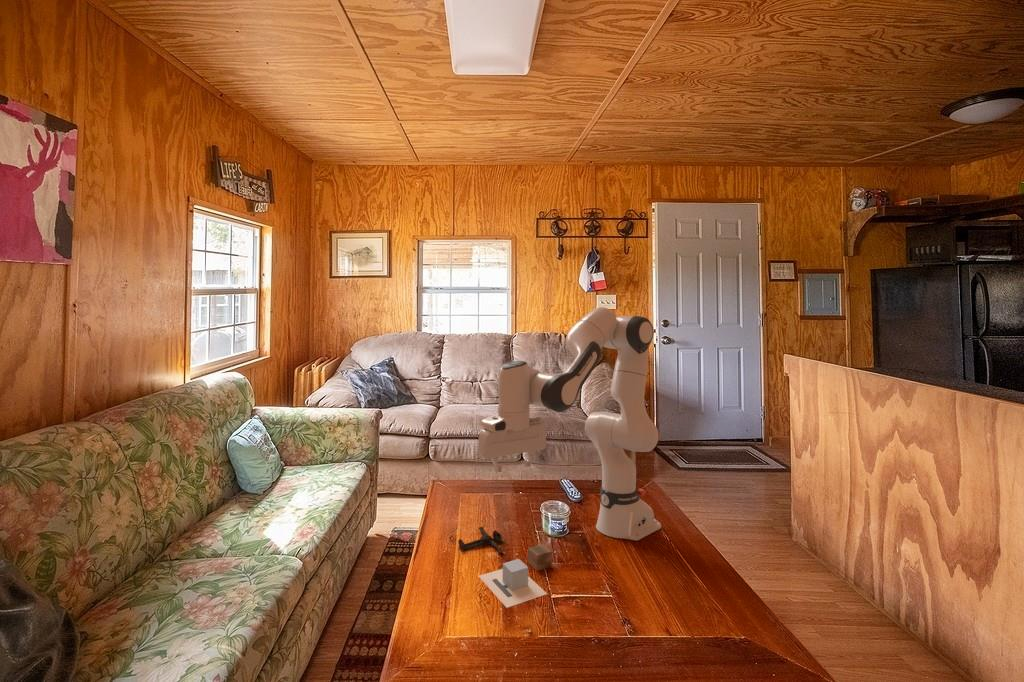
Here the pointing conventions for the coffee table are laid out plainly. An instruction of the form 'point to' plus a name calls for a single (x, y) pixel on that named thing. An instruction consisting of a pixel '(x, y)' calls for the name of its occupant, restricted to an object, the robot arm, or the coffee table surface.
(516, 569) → the grey cube
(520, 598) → the letter card
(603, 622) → the coffee table surface
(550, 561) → the walnut block
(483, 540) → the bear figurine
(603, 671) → the coffee table surface
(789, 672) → the coffee table surface
